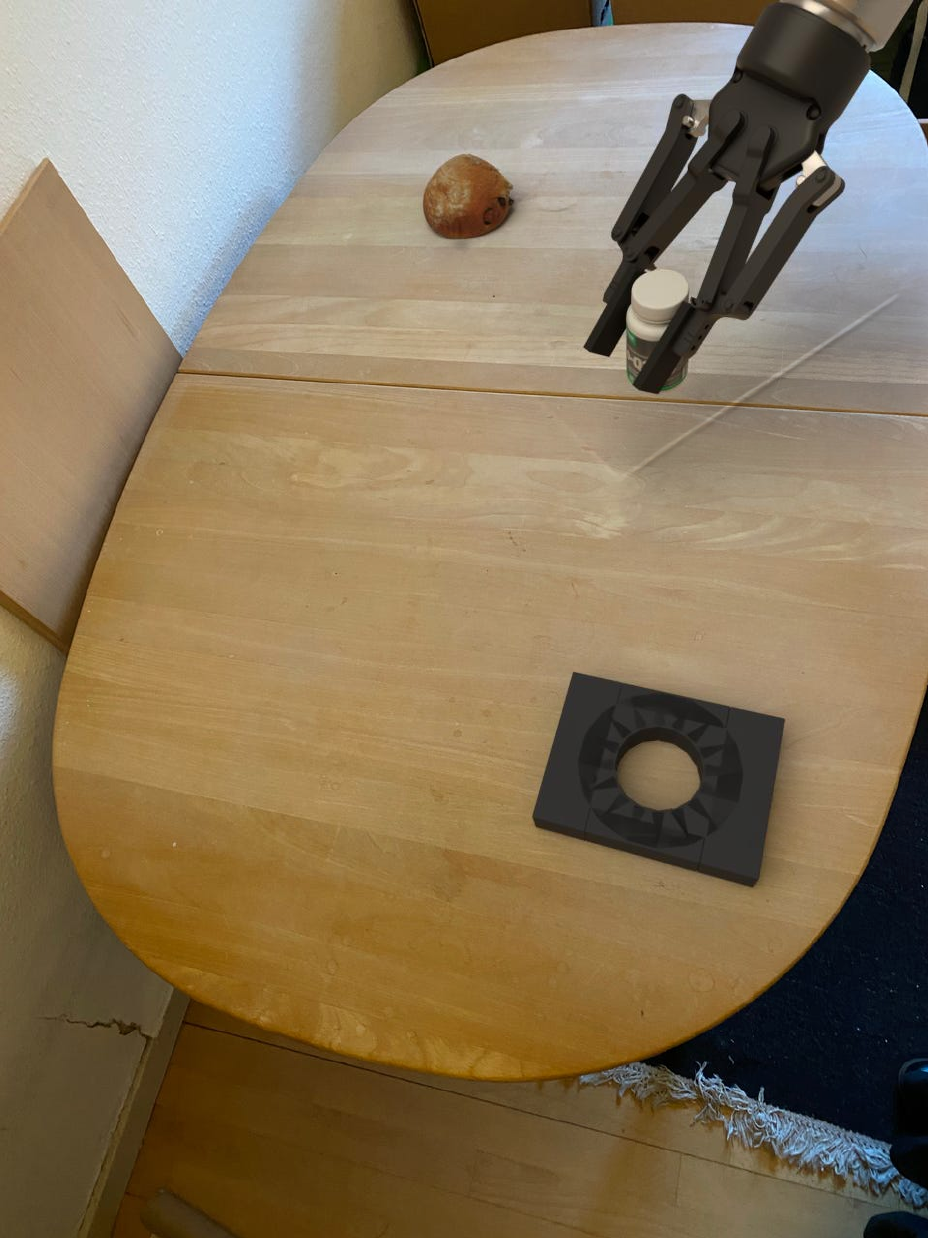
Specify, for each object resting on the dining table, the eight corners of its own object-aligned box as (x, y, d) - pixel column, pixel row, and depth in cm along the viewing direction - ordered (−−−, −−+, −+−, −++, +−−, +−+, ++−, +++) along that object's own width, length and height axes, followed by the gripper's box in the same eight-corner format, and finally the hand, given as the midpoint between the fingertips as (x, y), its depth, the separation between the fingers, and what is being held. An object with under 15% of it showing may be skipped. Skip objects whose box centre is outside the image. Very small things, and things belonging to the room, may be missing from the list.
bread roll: (465, 209, 105) (429, 152, 99) (532, 183, 98) (496, 121, 93) (436, 263, 101) (396, 206, 96) (503, 240, 94) (464, 178, 89)
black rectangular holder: (778, 732, 64) (785, 718, 61) (752, 888, 59) (758, 879, 56) (575, 686, 68) (573, 671, 66) (535, 827, 63) (531, 816, 61)
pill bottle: (614, 373, 67) (612, 287, 59) (661, 343, 67) (665, 254, 60) (652, 406, 64) (654, 321, 57) (700, 375, 65) (709, 287, 58)
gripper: (965, 103, 49) (730, 440, 61) (741, 9, 58) (572, 321, 69) (930, 51, 44) (679, 432, 55) (689, -44, 52) (515, 304, 64)
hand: (620, 370), depth 62 cm, fingers closed on pill bottle, 5 cm apart
